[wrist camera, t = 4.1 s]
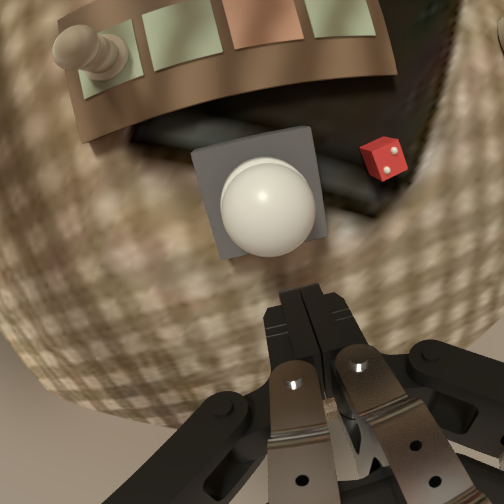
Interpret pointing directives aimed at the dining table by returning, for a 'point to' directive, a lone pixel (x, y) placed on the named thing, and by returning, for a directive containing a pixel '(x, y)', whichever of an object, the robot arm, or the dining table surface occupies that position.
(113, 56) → the pawn
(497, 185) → the dining table surface
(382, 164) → the red die
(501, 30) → the travel mug
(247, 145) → the dome housing
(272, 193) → the dome
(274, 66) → the game board
